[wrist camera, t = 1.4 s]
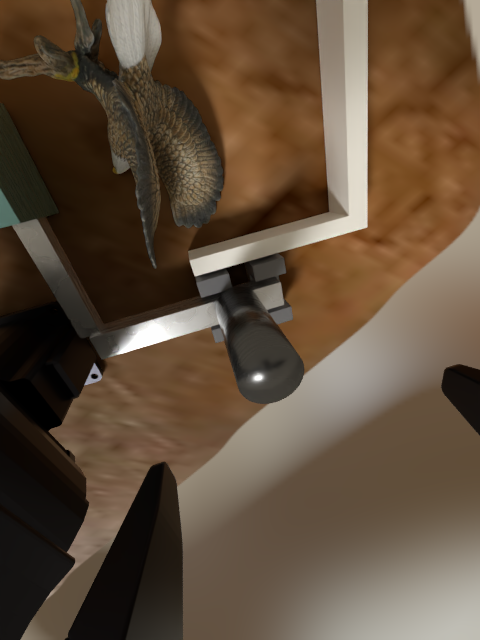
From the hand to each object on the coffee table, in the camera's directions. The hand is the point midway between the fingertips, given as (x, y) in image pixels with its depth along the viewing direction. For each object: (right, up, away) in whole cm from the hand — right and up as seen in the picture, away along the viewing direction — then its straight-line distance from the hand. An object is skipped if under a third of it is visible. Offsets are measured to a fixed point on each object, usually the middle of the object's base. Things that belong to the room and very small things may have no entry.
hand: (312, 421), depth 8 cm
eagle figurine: (-7, +13, +7) cm, 16 cm away
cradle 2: (-1, +6, +12) cm, 13 cm away
